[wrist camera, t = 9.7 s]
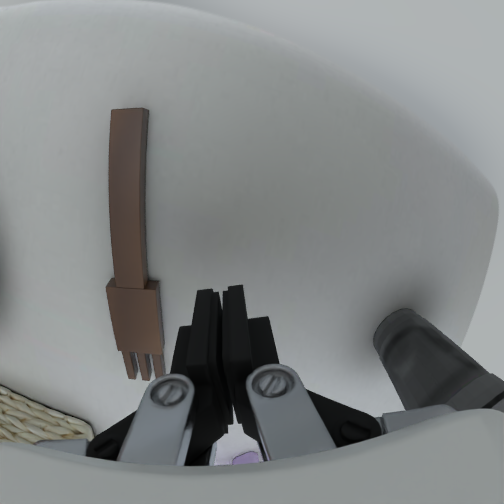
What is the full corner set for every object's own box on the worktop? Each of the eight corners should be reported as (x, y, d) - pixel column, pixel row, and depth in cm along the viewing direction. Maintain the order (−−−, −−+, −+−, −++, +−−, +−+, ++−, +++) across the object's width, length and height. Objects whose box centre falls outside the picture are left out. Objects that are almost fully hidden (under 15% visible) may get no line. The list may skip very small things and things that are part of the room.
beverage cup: (348, 323, 20) (487, 567, 1) (426, 277, 19) (599, 454, 1) (366, 376, 23) (460, 561, 4) (431, 337, 22) (549, 490, 4)
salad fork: (161, 109, 14) (157, 107, 12) (168, 373, 20) (166, 384, 19) (107, 112, 13) (99, 110, 12) (128, 370, 19) (125, 380, 18)
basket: (-19, 365, 18) (-71, 457, 5) (104, 417, 22) (77, 548, 8) (33, 459, 26) (14, 525, 12) (121, 491, 29) (114, 564, 16)
